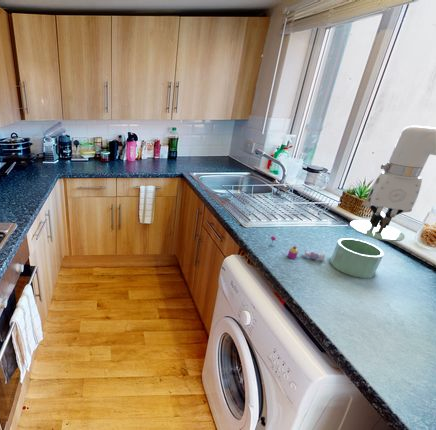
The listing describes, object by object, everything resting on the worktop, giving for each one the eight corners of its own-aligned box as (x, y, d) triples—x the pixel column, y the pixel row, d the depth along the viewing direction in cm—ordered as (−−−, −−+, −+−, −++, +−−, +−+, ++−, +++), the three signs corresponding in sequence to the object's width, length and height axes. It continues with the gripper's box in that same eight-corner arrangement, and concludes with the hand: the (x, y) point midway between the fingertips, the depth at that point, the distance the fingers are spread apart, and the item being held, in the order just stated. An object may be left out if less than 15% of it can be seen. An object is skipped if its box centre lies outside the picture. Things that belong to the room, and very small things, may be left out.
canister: (366, 262, 107) (375, 242, 103) (379, 281, 96) (390, 260, 92) (326, 254, 111) (334, 235, 107) (335, 272, 100) (343, 251, 97)
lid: (391, 227, 96) (400, 210, 93) (412, 246, 84) (422, 227, 82) (343, 220, 100) (350, 203, 98) (356, 237, 89) (364, 219, 86)
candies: (320, 256, 110) (325, 242, 107) (323, 266, 103) (328, 252, 101) (268, 244, 117) (272, 231, 115) (268, 253, 111) (272, 239, 108)
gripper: (375, 170, 83) (352, 226, 91) (445, 177, 78) (414, 236, 86) (365, 164, 90) (344, 217, 97) (430, 170, 84) (402, 225, 92)
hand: (377, 225), depth 91 cm, fingers closed on lid, 1 cm apart
